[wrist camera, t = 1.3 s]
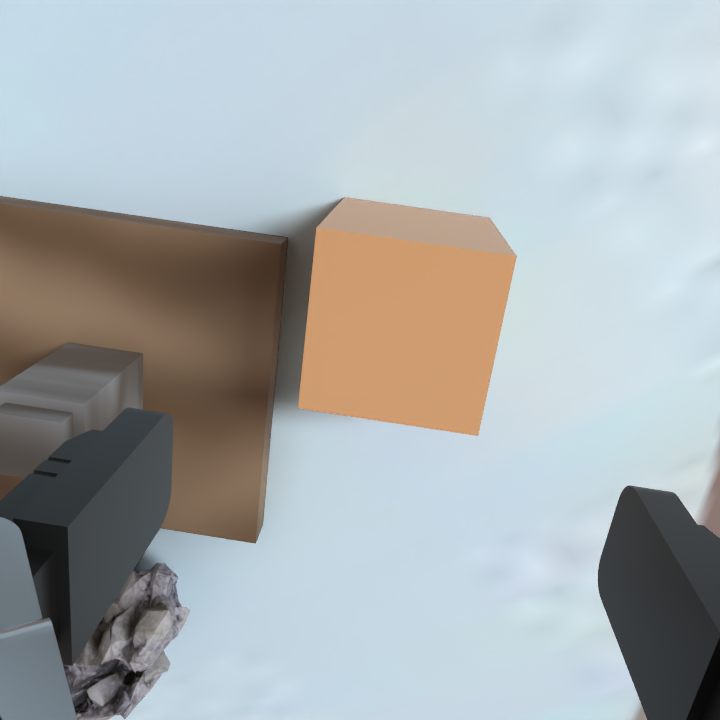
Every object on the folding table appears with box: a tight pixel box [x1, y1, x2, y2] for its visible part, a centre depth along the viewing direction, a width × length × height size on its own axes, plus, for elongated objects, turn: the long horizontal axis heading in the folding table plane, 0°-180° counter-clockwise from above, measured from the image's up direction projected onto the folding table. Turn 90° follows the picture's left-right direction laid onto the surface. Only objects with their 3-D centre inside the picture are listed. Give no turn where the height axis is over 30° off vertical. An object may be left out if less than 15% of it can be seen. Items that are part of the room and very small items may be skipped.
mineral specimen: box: [63, 563, 190, 720], centre depth 31 cm, size 12×9×10 cm
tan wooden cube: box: [298, 197, 516, 436], centre depth 23 cm, size 6×6×8 cm
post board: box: [0, 196, 288, 543], centre depth 26 cm, size 14×14×8 cm
